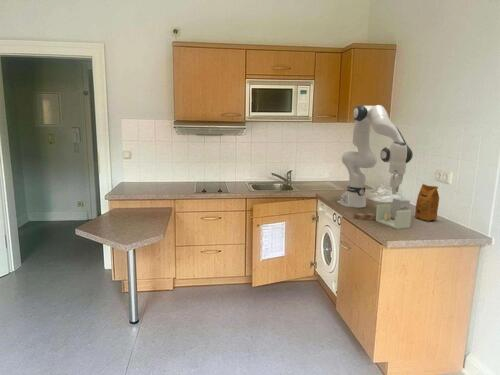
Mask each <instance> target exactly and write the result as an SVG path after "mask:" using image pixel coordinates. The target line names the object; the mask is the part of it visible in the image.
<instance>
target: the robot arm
mask: <svg viewBox="0 0 500 375" xmlns="http://www.w3.org/2000/svg"><path fill="white" fill-rule="evenodd" d="M352 117H353V120H355V122H354V127H353V133H352V134H353V135H352V144H353V145H354V146H355V147H356V148H357V151H346V152H344V153H343V155H342V157H341V161H342V164H343V165H344V166H345V167H346V169H347V172H348V175H349V176H348V186H346V188H347V190H346V191H344V192H343V193H341V196H340V199H339V200H337V201H336V202H337V203H338V204H339V205H342V206H343V207H349V208H359V209H361V208H366V207H367V202H366V201H367V200H366V193H365V192H366V175H365V173H363V172H362V171H361V169H371V168H374V167H375V166H376V165H377V156H376V155H375V153H374V152H373V151H372V149H371V146H370V134H371V133H370V132H371V127H372V129H373V131H374V132H375V133H376V134H379V135H381V136H385V137H388V138H389V139H391V140H393V142H392V143H391V144H390V145H389V146H385V147H383V148H382V149H381V150H380V159H381V161H383V162H384V163H386V164H387V163H388V164H389V170H388V173H390V180H389V187H390V188H391V191H392V192H391V194H392V195H396V193H398V192H399V189H400V185H401V184H402V183H403V180H404V174H406V168H407V164H408V163H409V162H410V161H411V160H412V159H413V156H414V155H413V151H412V149H411V148H410V147H409V144H408V143H407V141H406V140H405V138H404V136H403V135H402V133H401V131H400V129H399V128H398V127H397V126H396V125H395V124H394V123H393V122H392V121H391V120H390V117H389V114H388V111H387V110H386V108H385V107H384V106H383V105H381V104H376V105H357V106H355V107H354V109H353V111H352Z"/></svg>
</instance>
